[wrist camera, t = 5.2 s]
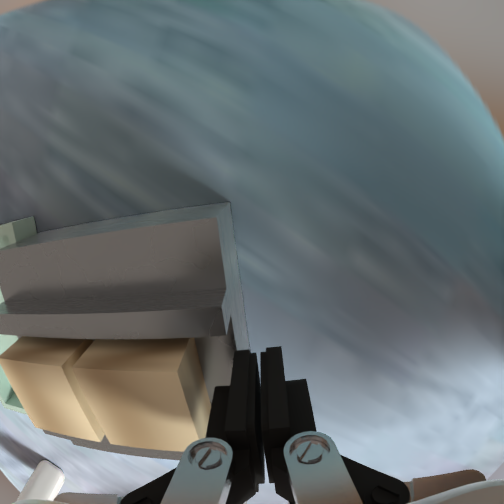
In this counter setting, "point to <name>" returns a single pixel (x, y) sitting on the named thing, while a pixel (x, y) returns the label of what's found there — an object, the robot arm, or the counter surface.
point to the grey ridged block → (132, 289)
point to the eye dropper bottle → (43, 482)
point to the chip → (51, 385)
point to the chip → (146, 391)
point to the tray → (3, 237)
